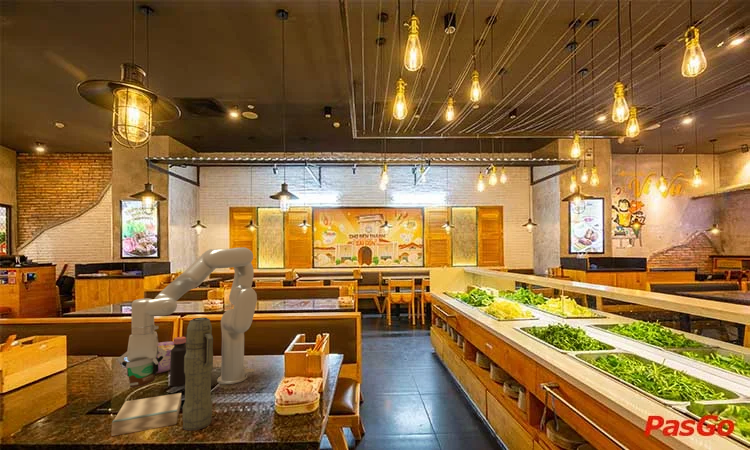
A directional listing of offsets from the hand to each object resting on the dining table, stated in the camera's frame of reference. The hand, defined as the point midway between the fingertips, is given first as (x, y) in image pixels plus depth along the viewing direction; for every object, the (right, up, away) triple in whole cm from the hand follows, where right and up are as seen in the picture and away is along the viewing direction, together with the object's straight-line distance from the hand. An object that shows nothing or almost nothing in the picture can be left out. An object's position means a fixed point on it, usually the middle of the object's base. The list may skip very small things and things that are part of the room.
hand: (143, 375), depth 139 cm
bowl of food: (-15, -13, +36) cm, 41 cm away
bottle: (+4, -11, +17) cm, 21 cm away
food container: (+1, -3, 0) cm, 3 cm away
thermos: (+32, -8, -20) cm, 38 cm away
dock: (+12, -8, -15) cm, 21 cm away
